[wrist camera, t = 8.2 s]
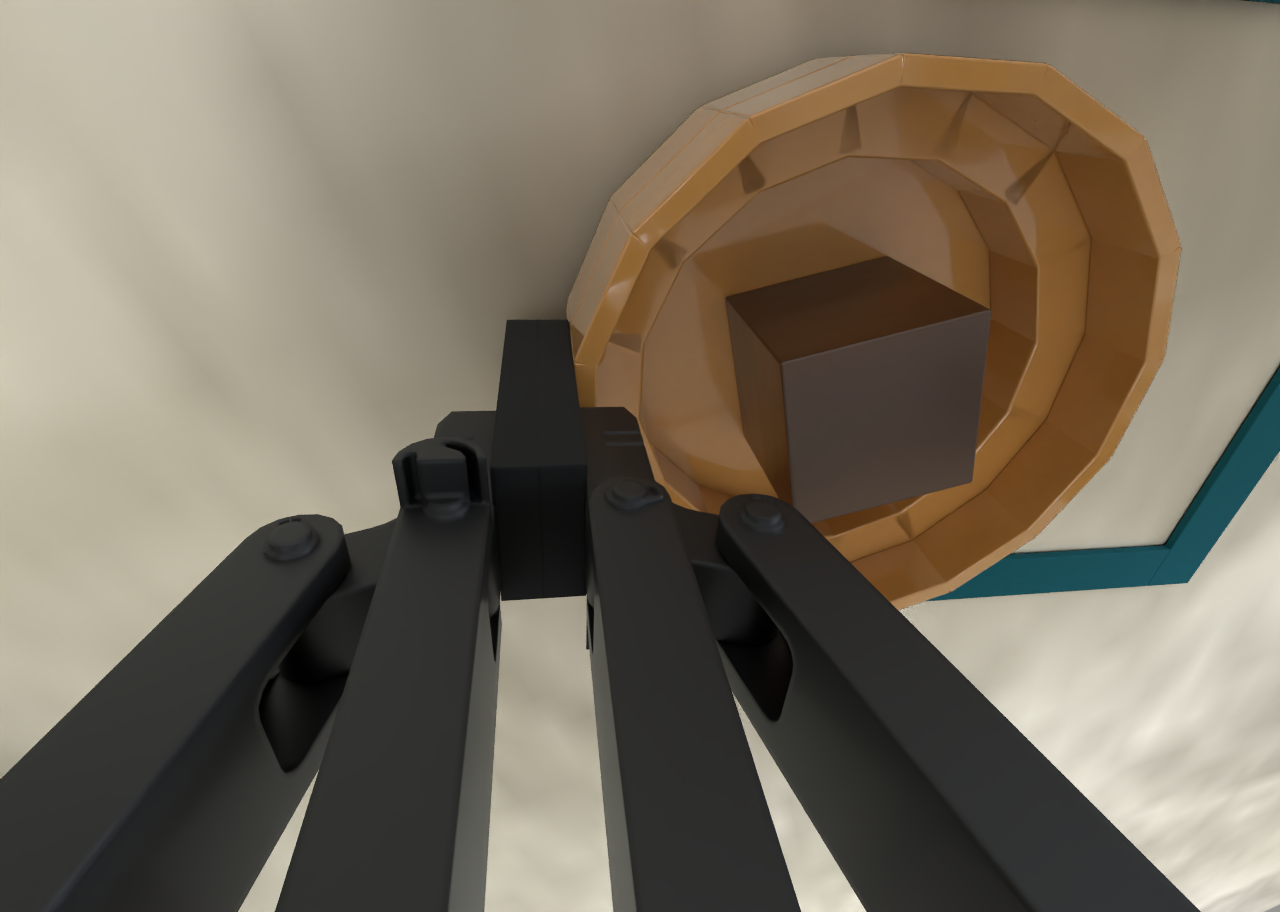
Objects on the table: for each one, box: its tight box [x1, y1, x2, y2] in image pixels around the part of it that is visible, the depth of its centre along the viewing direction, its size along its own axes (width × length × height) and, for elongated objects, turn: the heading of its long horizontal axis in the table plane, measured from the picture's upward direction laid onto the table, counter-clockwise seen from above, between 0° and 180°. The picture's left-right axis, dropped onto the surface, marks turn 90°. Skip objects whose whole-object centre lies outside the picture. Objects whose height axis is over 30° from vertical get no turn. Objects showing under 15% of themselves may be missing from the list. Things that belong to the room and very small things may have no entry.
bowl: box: [566, 53, 1182, 610], centre depth 16 cm, size 14×14×4 cm
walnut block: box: [725, 256, 992, 524], centre depth 16 cm, size 4×4×4 cm
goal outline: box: [927, 0, 1280, 601], centre depth 19 cm, size 22×22×1 cm
